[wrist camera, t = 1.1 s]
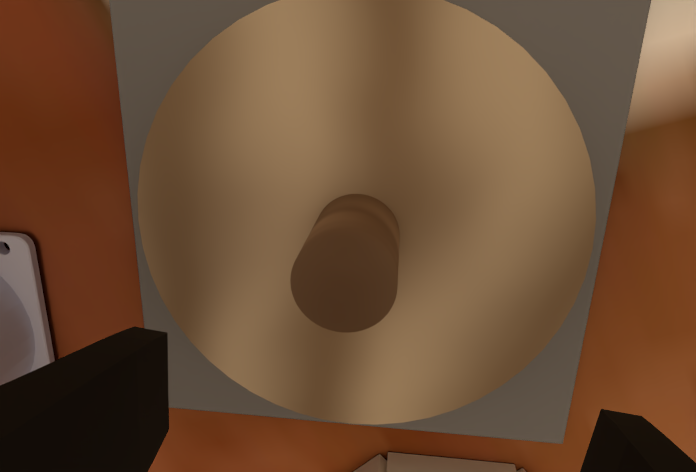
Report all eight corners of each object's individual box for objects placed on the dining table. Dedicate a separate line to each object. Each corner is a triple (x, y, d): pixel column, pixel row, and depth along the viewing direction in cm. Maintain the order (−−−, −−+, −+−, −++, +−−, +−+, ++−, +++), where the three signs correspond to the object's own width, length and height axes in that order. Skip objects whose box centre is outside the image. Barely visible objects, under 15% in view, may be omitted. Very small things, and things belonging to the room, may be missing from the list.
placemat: (157, 399, 22) (152, 405, 22) (111, -35, 17) (105, -37, 16) (560, 436, 21) (562, 443, 20) (649, -25, 15) (656, -27, 15)
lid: (164, 396, 21) (102, 483, 17) (123, -18, 16) (21, -42, 12) (551, 431, 20) (590, 536, 16) (633, -8, 15) (723, -30, 11)
